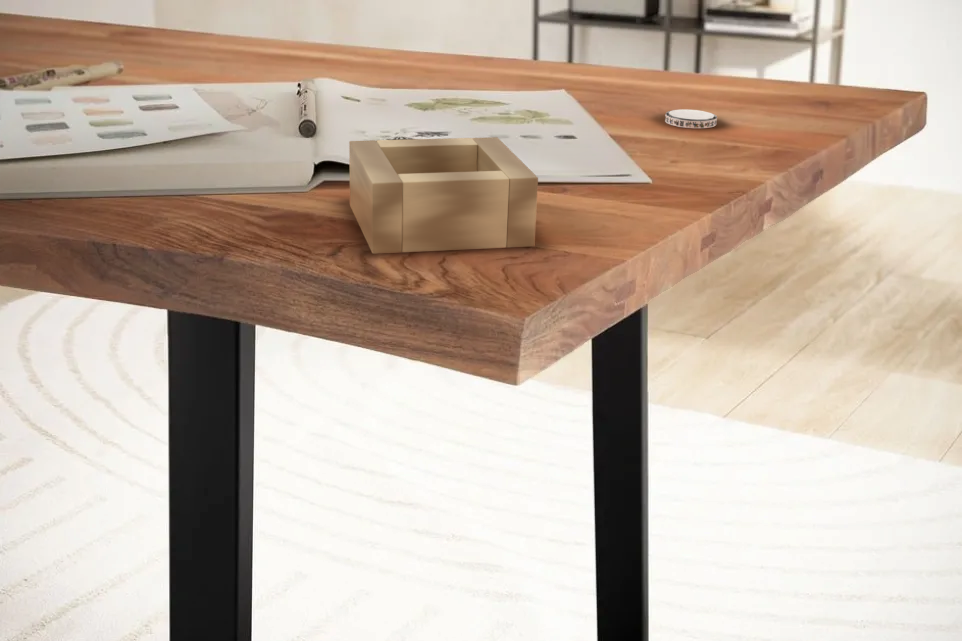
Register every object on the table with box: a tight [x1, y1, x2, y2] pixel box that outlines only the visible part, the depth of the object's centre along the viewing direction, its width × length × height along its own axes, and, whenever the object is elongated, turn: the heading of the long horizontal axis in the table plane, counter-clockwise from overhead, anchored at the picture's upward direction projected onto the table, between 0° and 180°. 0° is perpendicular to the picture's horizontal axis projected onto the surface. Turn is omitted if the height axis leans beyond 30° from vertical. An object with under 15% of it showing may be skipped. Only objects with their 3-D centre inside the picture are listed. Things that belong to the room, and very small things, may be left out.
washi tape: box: [664, 108, 718, 129], centre depth 97 cm, size 4×4×1 cm
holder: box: [348, 136, 539, 254], centre depth 70 cm, size 9×9×4 cm
